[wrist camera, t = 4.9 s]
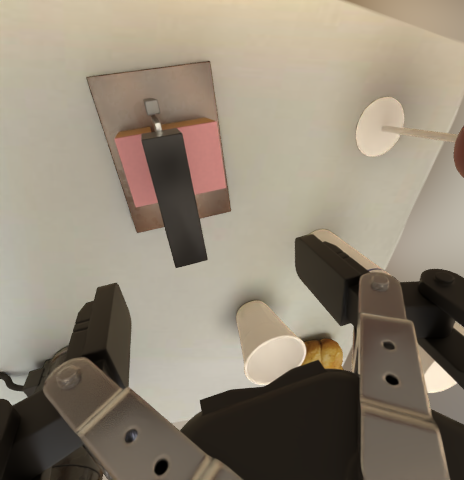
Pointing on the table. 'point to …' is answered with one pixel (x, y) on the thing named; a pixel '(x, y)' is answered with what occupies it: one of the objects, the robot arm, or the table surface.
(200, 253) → the black handled scraper
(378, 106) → the wineglass
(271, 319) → the cup
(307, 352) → the bread roll
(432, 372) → the cylindrical container
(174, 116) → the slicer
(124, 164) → the cake
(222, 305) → the table surface
